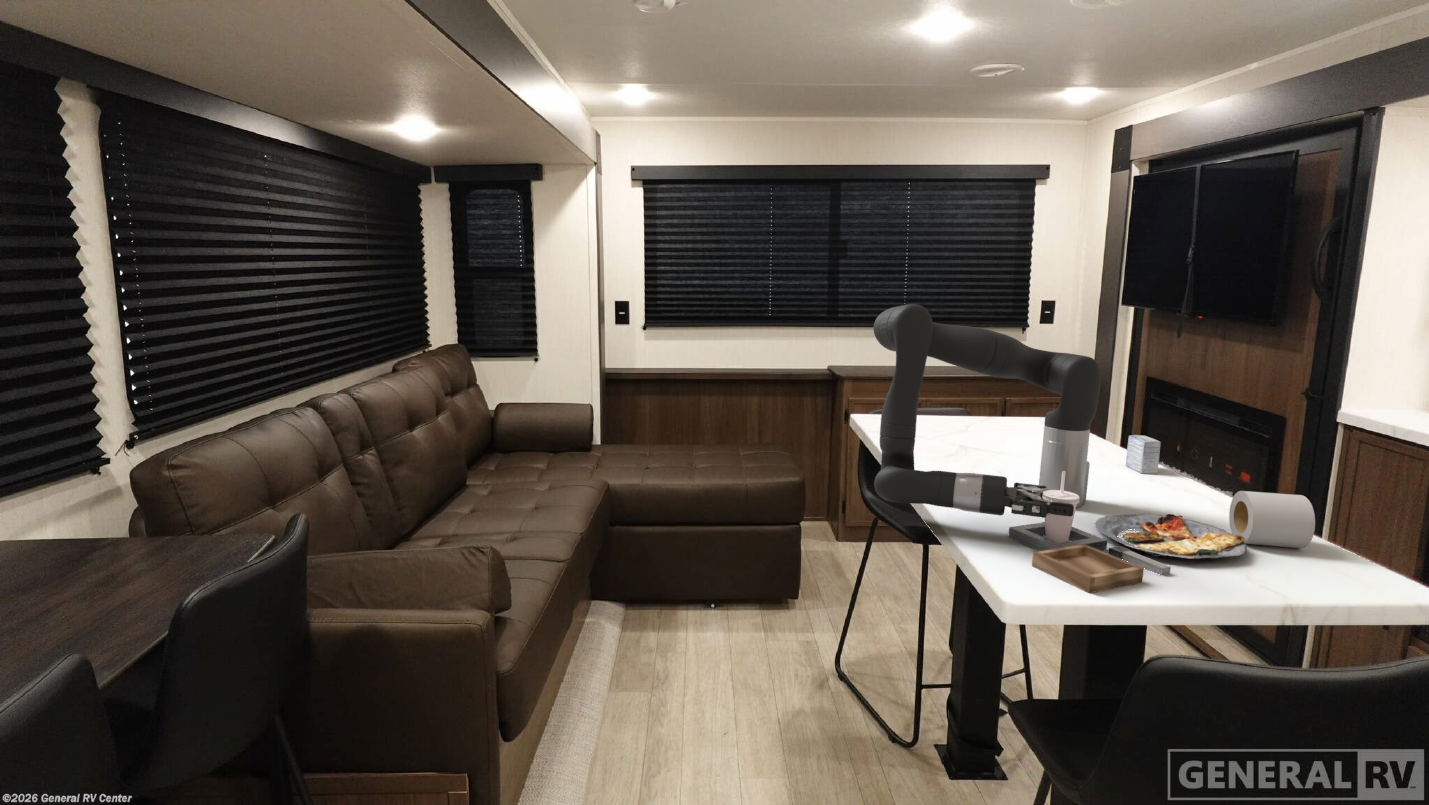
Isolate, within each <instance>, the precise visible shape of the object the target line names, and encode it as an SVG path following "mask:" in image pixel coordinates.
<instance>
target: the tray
mask: <svg viewBox="0 0 1429 805" xmlns="http://www.w3.org/2000/svg"><path fill="white" fill-rule="evenodd" d="M1031 566H1032V567H1033V568H1036V569H1038V570H1040V571H1042V572H1044V573H1046V574H1049V575H1050V576H1053V577H1055V578H1057V579H1058V580H1060V581H1063V582H1065V583H1067V584H1070V585H1071V586H1073V587H1075V588H1077V589H1080V590H1082V591H1084V592H1086V593H1088V594H1090V593H1091V594H1092V593H1095V592H1096V593H1097V592H1100V591H1106V590H1111V589H1116V588H1121V587H1126V586H1132V585H1136V584H1142V583H1143V578H1144V572H1145V571H1144V570H1145V569H1144V568H1142V567H1140V566H1137V565H1135V564H1132V563H1130V562H1127V561H1125V560H1122V559H1120V558H1117V557H1115V556H1112V555H1110V554H1108V553H1107V552H1106V551H1100V550H1098V549H1095V548H1093V547H1090V546H1088V545H1085V544H1082V545H1075V546H1069V547H1063V548H1057V549H1051V550H1044V551H1039V550H1037V551H1033V552H1032V560H1031Z"/></svg>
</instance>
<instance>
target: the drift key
mask: <svg viewBox="0 0 1429 805" xmlns="http://www.w3.org/2000/svg"><path fill="white" fill-rule="evenodd" d="M1107 554H1110V555H1112V556H1115V557H1117V558H1120V559H1123V560H1125V561H1128V562H1130V563H1132V564H1135V565H1137V566H1140V567H1142V568H1145V569H1144V570H1147V571H1149V572H1151V571H1152V573H1153V572H1154V573H1153V574H1156V573H1157V574H1156V575H1158V574H1160V575H1159V576H1161V575H1163V576H1167V575H1166V574H1169V575H1171V567H1172V566H1170V565H1167V564H1165V563H1162V562H1160V561H1158V560H1155V559H1152V558H1149V557H1148V556H1144V555H1141V554H1139V553H1137V552H1135V551H1132V549H1130V548H1126V547H1124V546H1121V545H1118V546H1112V547H1108V553H1107Z"/></svg>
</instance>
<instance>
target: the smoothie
mask: <svg viewBox="0 0 1429 805" xmlns="http://www.w3.org/2000/svg"><path fill="white" fill-rule="evenodd" d="M1064 481H1065V471H1062V478H1061V489H1060V490H1047V491H1044V492H1043V496H1042V498H1043V499H1044V500H1048V501H1051V504H1052V502H1060V503H1068V504H1073V506H1074V511H1073V516H1062V515H1054V514H1051V513H1050V515H1046V517H1045V518H1044V522H1045V536H1044V537H1045V538H1047V539H1049V540H1052V541H1054V542H1057V543H1062V542H1069V540H1068V539H1069V535H1070V531H1071V527H1073V522H1074V519H1075V516H1076V515H1075V514H1076V510H1077V507H1076V506H1077V504H1078V503H1079V498H1080V497H1079V496H1078V495H1077V494H1075V493H1072V492H1068V491H1064Z"/></svg>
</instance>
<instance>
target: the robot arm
mask: <svg viewBox="0 0 1429 805" xmlns="http://www.w3.org/2000/svg"><path fill="white" fill-rule="evenodd" d="M873 335H874V337H875V339H876V341H877V342H878V343H879V344H880V346H882V347H883V348H885V349H886V350H888V351H892V352H895V367H894V371H893V372H894V373H893V376H892V381H891V383H890V387H889V389H888V391H887V393H886V396H885V399H884V403H883V406H882V411H881V418H880V427H879V428H880V429H879V430H880V431H879V448H880V450H881V460H880V461H881V462H880V463H881V464H880V471H878V472H877V473H876V475H875V479H874V482H873V487H874V490H875V492H876V494H877V495H878V496H879V497H880V498H882V499H883V500H885V501H887V502H890V503H898V504H916V505H917V504H918V505H931V506H935V507H943V508H951V509H956V510H961V511H964V512H971V513H977V514H979V513H980V514H986V515H987V514H988V515H996V516H1001V517H1002V516H1004V514H1005V509H1006V508H1010V510H1011V511H1010V513H1011V514H1013V515H1022V516H1031V517H1037V518H1042V519H1043V518H1044V519H1045V517H1046V515H1050V513H1051V514H1054V515H1062V516H1073V511H1074V506H1073V504H1068V503H1060V502H1052V504H1051V501H1048V500H1044V499H1043V498H1042V496H1043V492H1044V491H1047V490H1060V489H1061V478H1062V471H1065V481H1064V491H1068V492H1072V493H1075V494H1077V495H1078V496H1079V497H1080V498H1079V503H1078V504H1077V506H1076V508H1080V507H1082V506H1083V505H1084V504H1086V502H1087V493H1088V483H1089V473H1090V465H1091V464H1090V461H1088V452H1089V442H1090V435H1091V434H1090V433H1091V425H1092V422H1093V420H1094V418H1095V416H1096V413H1097V408H1098V402H1099V397H1100V393H1101V392H1100V391H1101V385H1102V384H1101V383H1102V371H1101V367H1100V365H1099V363H1098V362H1097V360H1096V359H1094V358H1092V357H1091V356H1087V355H1083V354H1081V355H1080V354H1075V353H1069V352H1068V353H1067V352H1058V351H1057V352H1056V351H1048V350H1043V349H1037V348H1033V347H1031V346H1028V345H1026V344H1025V343H1023V342H1021V341H1020V340H1018V339H1017V338H1015V337H1012V336H1010V335H1007V334H1004V333H1001V332H997V331H993V330H991V329H988V328H982V327H976V326H970V325H969V326H967V325H956V324H955V325H954V324H945V323H944V324H943V323H940V322H939V323H938V322H933V318H932V316H931V314H930V312H929V311H928V310H927V309H926V308H925V307H924V306H922V305H921V304H920V305H919V304H916V303H912V304H911V303H910V304H903V305H898V306H893V307H890V308H888V309H885V310H884V311H883V312H881V313H879V315H878V316H877V317H876V319H875V321H874V323H873ZM928 357H930V358H933V359H936V360H938V361H941V362H944V363H946V364H950V365H952V366H954V367H955V366H956V367H959V368H961V369H965V370H968V371H972V372H975V373H979V374H982V375H986V376H990V377H995V378H1001V379H1014V380H1015V379H1017V380H1021V381H1024V382H1027V383H1030V384H1033V385H1035V386H1038V387H1040V388H1042V389H1044V390H1047V391H1050V392H1052V393H1054V394H1056V395H1060V399H1059V400H1060V401H1059V405H1058V407H1057V408H1056V409H1053V410H1049V411H1047V412H1046V414H1045V416H1044V424H1043V425H1044V426H1043V437H1042V446H1041V458H1040V459H1041V460H1040V466H1039V478H1038V484H1033V483H1032V484H1031V483H1024V482H1023V483H1022V482H1014V484H1013V487H1012V486H1008V479H1007V477H1006V476H1001V475H993V474H991V475H990V474H985V473H984V474H982V473H976V472H975V473H974V472H953V471H945V470H928V471H926V470H925V471H924V470H917V469H915V453H914V452H915V444H916V432H917V418H918V415H917V414H918V406H919V400H920V395H921V394H920V393H921V387H922V384H923V383H922V382H923V377H924V373H925V369H926V365H927V364H926V363H927V359H928Z"/></svg>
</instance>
